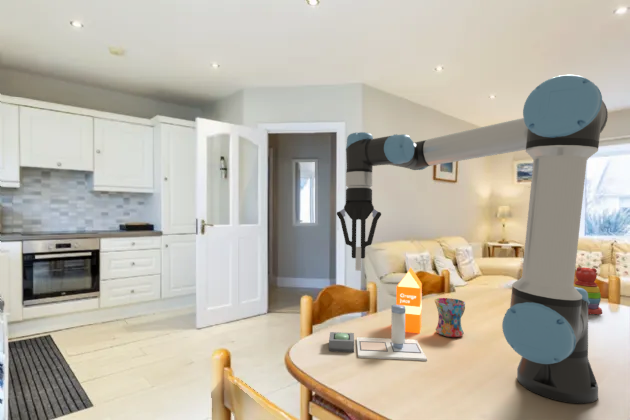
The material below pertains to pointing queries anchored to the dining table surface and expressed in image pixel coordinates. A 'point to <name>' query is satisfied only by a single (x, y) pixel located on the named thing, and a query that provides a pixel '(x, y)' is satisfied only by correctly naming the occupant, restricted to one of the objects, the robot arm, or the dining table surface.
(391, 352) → the sheet
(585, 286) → the stacking bear
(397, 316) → the cylinder
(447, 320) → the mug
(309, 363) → the dining table surface
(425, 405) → the dining table surface
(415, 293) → the orange juice
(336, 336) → the button
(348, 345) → the button housing
